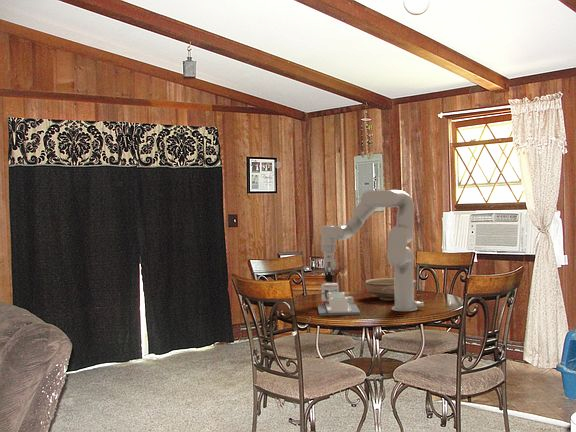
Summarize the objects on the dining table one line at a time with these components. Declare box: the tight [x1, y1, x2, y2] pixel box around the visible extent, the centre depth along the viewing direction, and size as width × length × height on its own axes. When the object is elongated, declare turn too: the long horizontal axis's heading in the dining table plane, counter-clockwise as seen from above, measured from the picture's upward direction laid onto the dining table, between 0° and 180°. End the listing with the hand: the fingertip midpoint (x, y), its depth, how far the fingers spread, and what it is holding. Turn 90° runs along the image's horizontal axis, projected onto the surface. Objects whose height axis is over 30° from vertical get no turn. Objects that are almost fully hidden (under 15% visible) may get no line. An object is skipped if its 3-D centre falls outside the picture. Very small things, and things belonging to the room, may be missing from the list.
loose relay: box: [346, 295, 355, 304], centre depth 343 cm, size 4×4×4 cm
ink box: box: [320, 282, 340, 305], centre depth 340 cm, size 9×5×12 cm, turn 99°
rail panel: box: [317, 291, 361, 317], centre depth 322 cm, size 20×25×8 cm
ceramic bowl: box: [364, 277, 417, 301], centre depth 359 cm, size 37×29×10 cm
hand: (328, 280), depth 340 cm, fingers open, 9 cm apart
